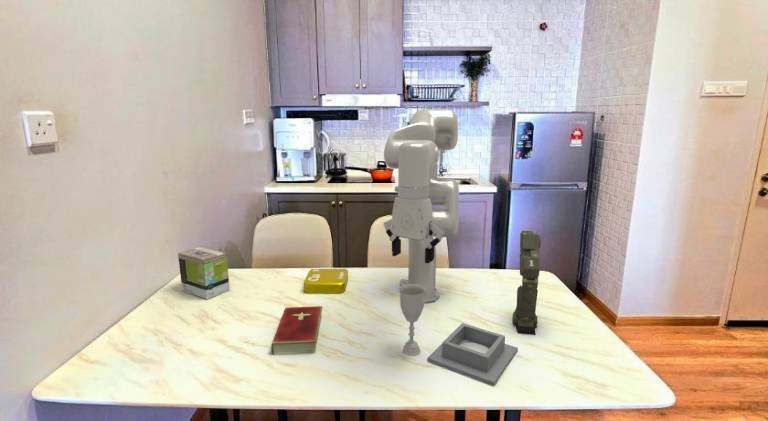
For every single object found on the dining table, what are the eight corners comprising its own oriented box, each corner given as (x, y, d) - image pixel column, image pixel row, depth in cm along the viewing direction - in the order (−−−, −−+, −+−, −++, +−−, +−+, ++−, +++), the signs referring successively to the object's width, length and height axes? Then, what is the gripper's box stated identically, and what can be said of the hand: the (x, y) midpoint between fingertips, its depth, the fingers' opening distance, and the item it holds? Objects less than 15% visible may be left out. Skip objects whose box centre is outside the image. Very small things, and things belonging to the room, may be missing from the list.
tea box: (231, 290, 153) (227, 252, 149) (206, 300, 144) (202, 260, 141) (205, 281, 160) (201, 245, 157) (181, 290, 152) (176, 252, 149)
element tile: (344, 294, 149) (344, 282, 148) (302, 294, 149) (302, 282, 148) (348, 278, 164) (348, 267, 163) (310, 278, 164) (310, 267, 163)
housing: (427, 361, 109) (427, 344, 107) (456, 331, 123) (457, 316, 122) (494, 386, 99) (495, 367, 97) (517, 351, 113) (518, 334, 112)
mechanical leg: (541, 339, 117) (546, 232, 117) (515, 336, 119) (519, 231, 119) (534, 326, 131) (538, 231, 131) (510, 324, 132) (514, 229, 132)
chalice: (427, 346, 115) (428, 286, 111) (421, 359, 109) (422, 296, 105) (402, 341, 118) (402, 282, 114) (394, 354, 112) (394, 292, 107)
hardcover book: (271, 356, 112) (270, 342, 111) (284, 318, 132) (284, 306, 131) (316, 354, 113) (316, 340, 112) (322, 317, 133) (322, 305, 132)
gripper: (376, 191, 105) (376, 256, 109) (437, 198, 95) (435, 269, 99) (392, 187, 111) (392, 248, 115) (451, 194, 102) (449, 260, 105)
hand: (412, 258), depth 107 cm, fingers open, 9 cm apart
